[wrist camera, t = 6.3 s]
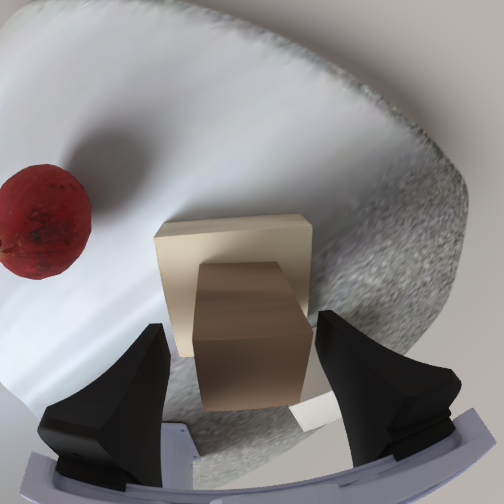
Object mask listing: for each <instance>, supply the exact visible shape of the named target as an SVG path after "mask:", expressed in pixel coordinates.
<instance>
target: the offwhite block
mask: <svg viewBox="0 0 504 504" xmlns="http://www.w3.org/2000/svg"><path fill="white" fill-rule="evenodd" d="M316 329H317V326H316V327H314V328H312V330H313V332H314V334H313V340H312V345H311V350H310V355H309V360H308V365H307V370H306V375H305V380H304V384H303V389H302V393H301V397H300V402H299V404H293V405H288V407H289V409H290V410H291V412H292V413H293V415H294V417H295V418H296V420H297V421H298V423H299V425H300V426H301V428H302V429H303V431H304V432H306V431H309V430H312V429H314V428H317V427H320V426H323V425H325V424H328V423H330V422H333V421H335V420H338V419H340V418H342V415H341V411H340V408H339V405H338V402H337V400H336V397H335V395H334V393H333V390H332V388H331V386H330V384H329V382H328V379H327V377H326V375H325V373H324V371H323V368H322V366H321V364H320V361H319V358H318V355H317V351H316V348H315V344H314V343H315V336H316Z"/></svg>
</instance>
